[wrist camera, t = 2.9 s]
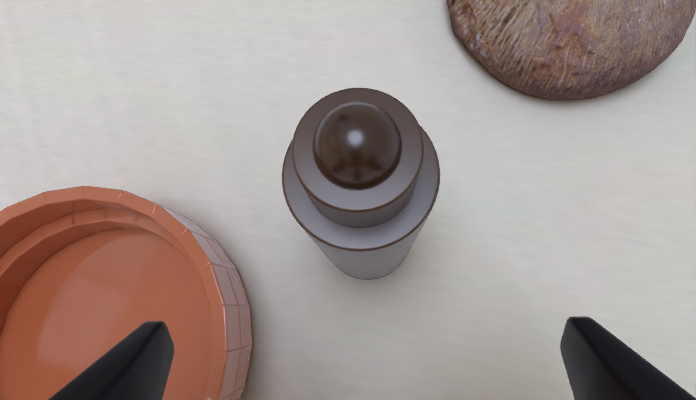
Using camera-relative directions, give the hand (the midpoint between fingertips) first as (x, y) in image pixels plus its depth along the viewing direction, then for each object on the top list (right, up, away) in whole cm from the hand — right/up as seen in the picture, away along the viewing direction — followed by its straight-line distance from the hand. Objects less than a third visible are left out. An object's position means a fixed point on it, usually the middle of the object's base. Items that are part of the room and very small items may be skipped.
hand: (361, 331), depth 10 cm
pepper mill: (+1, +1, +11) cm, 11 cm away
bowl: (-11, -4, +11) cm, 16 cm away
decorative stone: (+11, +14, +14) cm, 22 cm away
